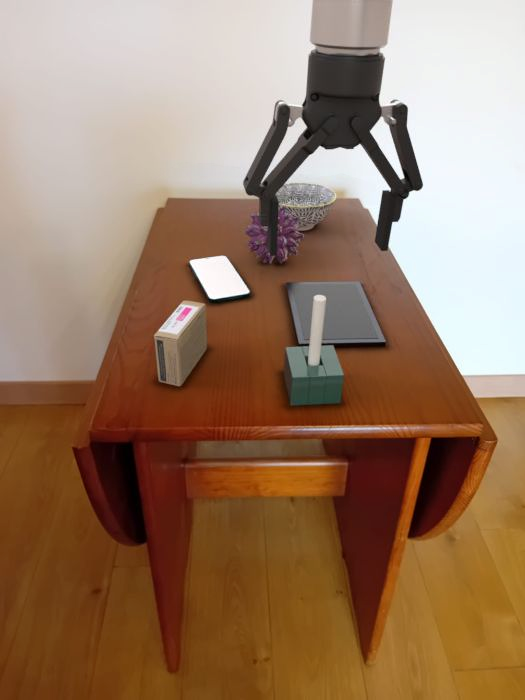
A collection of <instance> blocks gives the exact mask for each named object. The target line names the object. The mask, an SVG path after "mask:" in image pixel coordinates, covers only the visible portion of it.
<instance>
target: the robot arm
mask: <svg viewBox="0 0 525 700" xmlns="http://www.w3.org/2000/svg"><path fill="white" fill-rule="evenodd" d="M393 1H394V0H312V5H311V18H310V29H309V42H310V43H311V45H313V46H314V49H312V50H311V51H310V52H309V53H308V55H307V56H308V59H307V60H308V61H307V73H306V88H305V89H306V91H305V96H304V97H305V98H304V100H303V102H302V104H293V103H287V102H286V101H284V100H282V99H278V100H277V101H276V102H275V104H274V110H273V114H272V115H273V116H272V123H271V125H270V126H269V128H268V131H267V133H266V134H265V136H264V139H263V141H262V143H261V145H260V146H259V148H258V150H257V153H256V154H255V156H254V159H253V161H252V163H251V165H250V167H249V168H248V171H247V173H246V175H245V177H244V179H243V182H242V185H243V188H244V191H245V193H246V195H247V196H250V197H256V198H258V214H259V220H260V223H261V225H262V227H267V248H268V251H269V254H270V256H277V233H278V210H279V201H278V199H277V197H276V195H275V194H276V193H277V192H278V191H279V189H280V188H281V187H282V186H283V185H284V184H285V183H287V181H289V179H290V178H291V177H292V176H293V175H294V173H296V171H297V170H298V169H299V168H300V167H301V166H302V164H304V162H305V161H306V160H307V159H308V157H310V156H311V155H313V154H314V153H315V152H316V151H317V150H318V149H319V148H320V147H321V148H323V149H325V150H328V151H329V150H336V149H339V148H341V149H344V150H354V149H355V148H356V147H358V146H359V145H360V146H361V147H362V148H363V150H364V152H365V153H366V154H367V156H368V157H369V159H370V160H371V162H372V163H373V165H374V167H376V169H377V170H378V172H379V174H380V175H381V177H382V178H383V179H384V181H385V183H386V184H387V186H388V188H389V190H388V189H386V190H385V189H384V190H382V192H381V197H380V198H381V199H380V203H379V204H380V205H379V212H378V218H377V224H376V231H375V237H374V243H375V244H376V246H377V247H378V249H379V250H380V251H381V252H388V249H389V244H390V239H391V233H392V227H393V223H399V221H400V219H401V215H402V210H403V205H404V200H406V199H408V198H409V196H410V193H411V192H413V191H415V192H419V191H421V190H422V189H423V186H424V182H423V179H422V176H421V171H420V168H419V164H418V161H417V157H416V154H415V151H414V146H413V143H412V139H411V136H410V132H409V130H408V117H409V116H408V115H409V107H408V105H407V104H405V103H404V102H402V101H401V100H398V99H396V98H395V99H392V100H391V101H390V102H389V103H380V95H381V90H382V83H383V76H384V68H385V61H386V57H385V56H384V54H383V53H382V52H381V49H384V48H385V47H386V46H387V45H388V41H389V35H390V26H391V18H392V10H393ZM381 117H382V118H383V122H384V123H385V124H387V126H388V128H389V132H390V134H391V138H392V142H393V145H394V148H395V152H396V155H397V159H398V161H399V165H400V168H401V172H402V175H403V178H400V177H399V175H398V173H397V172H396V170H395V168H394V167H393V165H392V164H391V163H390V161H389V159H388V157H386V155H385V154H384V152H383V150H382V149H381V148H380V146H379V143H378V142H377V140H376V139H375V137H374V136H373V134H372V133H371V131H372V129H373V128H374V127H375V126H376V125H377V123H378V122H379V121H380V119H381ZM300 118H301V120H302V122H303V123H304V125H305V126H306V128H305V129H304V130H303V131H302V133H300V135H299V136H298V137H297V141H296V142H295V143H294V144H293V146H292V147H291V148H290V149H289V150H288V151H287V152H286V154H285V155H284V156H283V157H282V158H281V160H280V161H279V162H278V163H277V164H276V165H275V166H274V168H273V169H272V171H270V173H268V175H267V176H266V177H265V175H266V174H267V172H268V171H269V168H270V167H271V165H272V163H273V160H274V158H275V156H276V155H277V153H278V150H279V149H280V147H281V144H283V141H284V139H285V137H286V134H287V131H288V128H291V127H293V126H294V125H295V123H296V121H297V120H298V119H300Z"/></svg>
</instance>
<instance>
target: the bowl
mask: <svg viewBox="0 0 525 700" xmlns="http://www.w3.org/2000/svg"><path fill="white" fill-rule="evenodd" d="M275 195H276V197H277V199H278V201H279V210H280V209H282V207H283V206H286V213H287V214H288V213H290V212H291V211H292V212H293V214H292V217H291V219H293V218H296V217H299V218H300V219H299V221H297V223H296V224H301V225H302V227H300V228H298V230H297V231H298V232H299V231H300V232H302V231H309V230H312V229H313V228H314V227H315V225H318V224H319V223H321V222H323V220H324V219H326V217H327V215H328V214H329V213H330V211H331V209H332V206H333V204H334V203H335V201H336V200H337V197H338V196H337V193H336V191H335V190H334V189H332V188H330V187H328V186H325V185H322V184H319V183H312V182H300V181H299V182H297V181H295V182H294V181H293V182H286V183H285V184H284V185H283V186H282V187H281V188H280V189H279V191H278V192H277V193H276V194H275Z"/></svg>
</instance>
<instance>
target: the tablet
mask: <svg viewBox="0 0 525 700" xmlns="http://www.w3.org/2000/svg"><path fill="white" fill-rule="evenodd" d="M285 290H286V295H287V300H288V305H289V310H290V314H291V319H292V324H293V328H294V333H295V338H296V343H297V347H302V346H309V344H310V333H311V322H312V311H313V299H314V296H316V295H323V296H325V297H326V306H325V315H324V324H323V334H322V343H321V346H327V345H333V346H334V349H345V348H346V349H347V348H348V349H349V348H385V347H386V345H387V344H386V343H387V341H386V338H385V335H384V334H383V331H382V329H381V326H380V325H379V323H378V320H377V318H376V315H375V313H374V311H373V309H372V307H371V304H370V302H369V299H368V298H367V295H366V292H365V290H364V289H363V286H362V284H361V281H291V282H290V281H289V282H285Z"/></svg>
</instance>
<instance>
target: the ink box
mask: <svg viewBox="0 0 525 700" xmlns="http://www.w3.org/2000/svg"><path fill="white" fill-rule="evenodd" d="M207 332H208V331H207V307H206V303H203V302H198V301H192V300H182V302H180V304H179V305H178V306H177V308H175V310H174V311H173V312H172V313H171V314H170V315H169V317H168V318H167V319H166V321H165V322H163V324H162V325H161V327H159V328H158V330H157V331H156V332H155V334H153V337H154V348H155V349H154V350H155V359H156V360H155V361H156V369H157V370H156V371H157V378H158V382H159V383H163V384H167V385H171V386H175V387H179V388H180V387H181V386H182V385H184V383H185V381H187V378H188V377H189V376H190V374H191V373H192V371H193V369H194V368H195V367H196V365H197V363H198V362H199V361H200V360H201V358H202V357H203V355H204V354H205V352H206V351H207V349H208V337H207V336H208V335H207V334H208V333H207Z"/></svg>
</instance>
